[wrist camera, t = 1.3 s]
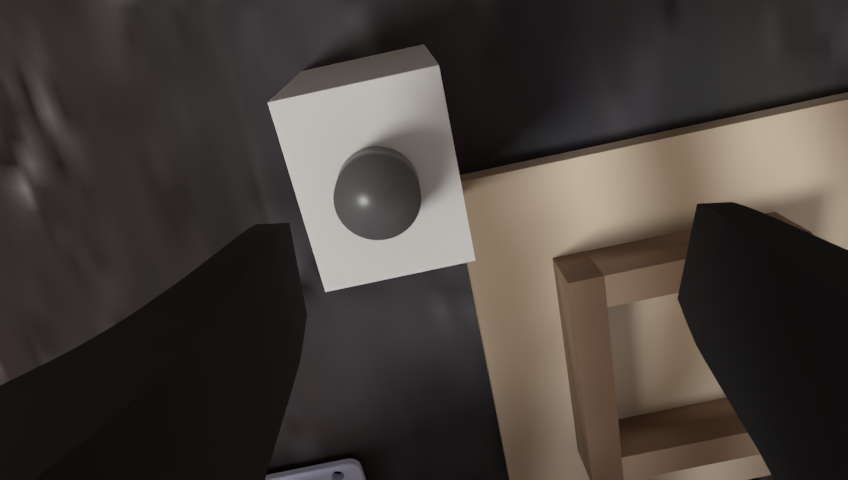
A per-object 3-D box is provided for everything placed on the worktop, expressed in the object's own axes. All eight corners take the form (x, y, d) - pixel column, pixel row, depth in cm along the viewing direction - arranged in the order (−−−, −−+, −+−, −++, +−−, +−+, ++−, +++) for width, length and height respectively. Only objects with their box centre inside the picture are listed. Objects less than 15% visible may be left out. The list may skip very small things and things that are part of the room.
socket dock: (515, 510, 27) (528, 565, 24) (450, 177, 21) (458, 203, 18) (823, 449, 26) (870, 498, 24) (850, 91, 20) (918, 105, 18)
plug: (341, 213, 21) (321, 310, 15) (302, 70, 19) (259, 110, 13) (452, 190, 21) (481, 277, 14) (424, 43, 19) (442, 70, 12)
